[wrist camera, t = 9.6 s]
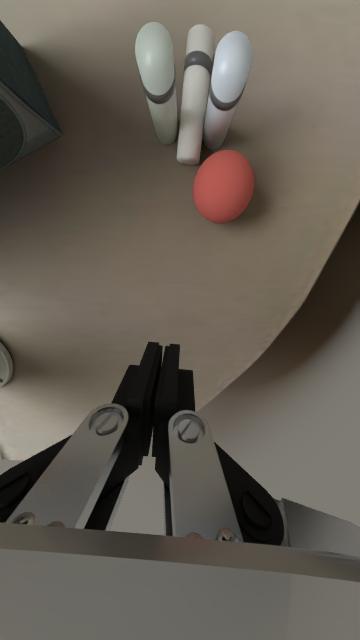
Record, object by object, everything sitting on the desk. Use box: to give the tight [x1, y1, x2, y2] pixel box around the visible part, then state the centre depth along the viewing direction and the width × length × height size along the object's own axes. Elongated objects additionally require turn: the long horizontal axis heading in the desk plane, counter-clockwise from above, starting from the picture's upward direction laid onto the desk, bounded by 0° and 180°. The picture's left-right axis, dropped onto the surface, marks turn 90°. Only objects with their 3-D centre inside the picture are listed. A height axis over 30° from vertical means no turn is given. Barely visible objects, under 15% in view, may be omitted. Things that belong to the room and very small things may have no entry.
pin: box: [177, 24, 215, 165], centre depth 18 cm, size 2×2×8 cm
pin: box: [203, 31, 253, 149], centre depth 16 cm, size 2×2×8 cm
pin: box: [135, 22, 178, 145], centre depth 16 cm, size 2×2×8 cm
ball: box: [193, 150, 254, 223], centre depth 19 cm, size 6×6×6 cm
